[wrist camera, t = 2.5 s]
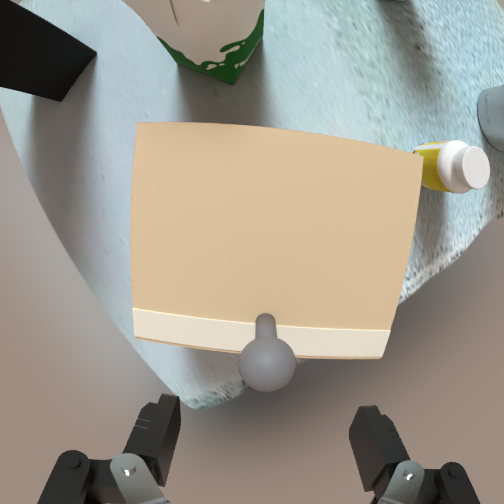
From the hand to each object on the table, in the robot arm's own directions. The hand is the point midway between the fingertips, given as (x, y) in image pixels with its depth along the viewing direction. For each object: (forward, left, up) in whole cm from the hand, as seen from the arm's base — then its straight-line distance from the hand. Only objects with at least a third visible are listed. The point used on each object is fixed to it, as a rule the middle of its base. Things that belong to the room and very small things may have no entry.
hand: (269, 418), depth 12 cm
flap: (0, -5, -10) cm, 11 cm away
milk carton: (+7, -24, -23) cm, 34 cm away
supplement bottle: (-18, -14, -23) cm, 32 cm away
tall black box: (+28, -24, -23) cm, 43 cm away
